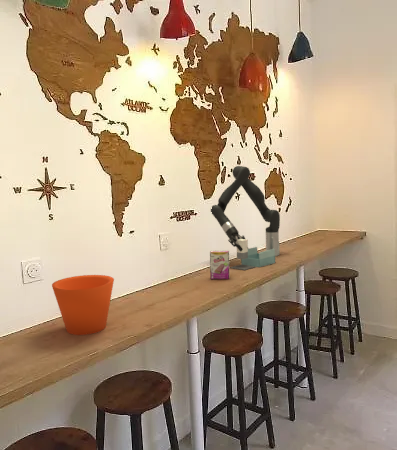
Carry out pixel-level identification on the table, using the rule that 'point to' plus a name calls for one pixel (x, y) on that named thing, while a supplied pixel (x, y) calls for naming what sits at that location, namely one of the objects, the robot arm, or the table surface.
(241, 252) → the block
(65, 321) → the flowerpot
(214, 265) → the candy bar box
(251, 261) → the carton
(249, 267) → the mat
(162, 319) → the table surface
